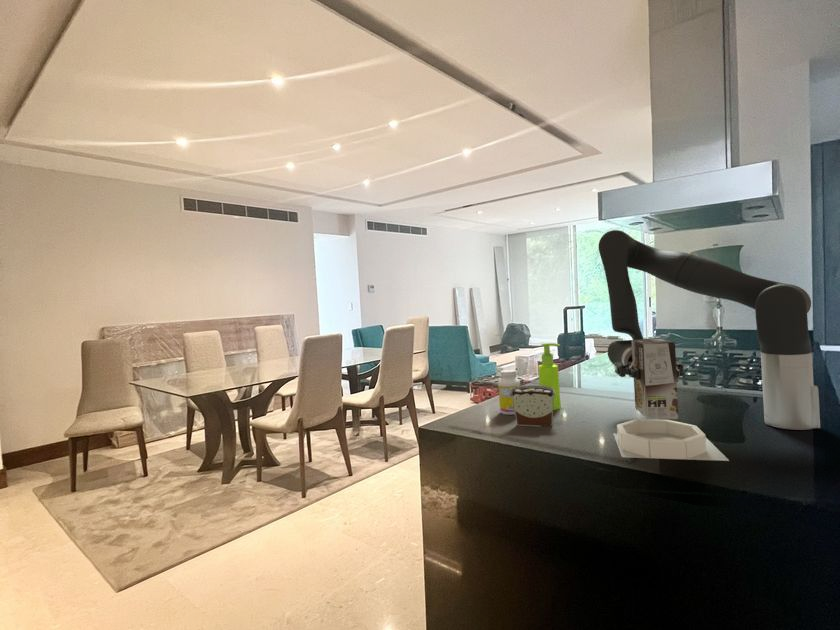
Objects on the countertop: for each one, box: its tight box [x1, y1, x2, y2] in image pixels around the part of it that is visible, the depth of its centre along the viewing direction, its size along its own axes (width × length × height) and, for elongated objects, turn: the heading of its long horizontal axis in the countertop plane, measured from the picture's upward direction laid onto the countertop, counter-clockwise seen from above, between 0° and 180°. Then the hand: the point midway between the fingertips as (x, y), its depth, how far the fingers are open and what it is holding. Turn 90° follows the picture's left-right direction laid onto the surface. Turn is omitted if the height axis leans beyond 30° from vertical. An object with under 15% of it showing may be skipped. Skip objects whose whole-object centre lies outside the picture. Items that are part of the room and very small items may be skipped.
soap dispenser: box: [537, 342, 562, 411], centre depth 134 cm, size 6×7×20 cm
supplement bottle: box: [497, 369, 521, 416], centre depth 133 cm, size 7×7×13 cm
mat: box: [612, 433, 730, 462], centre depth 94 cm, size 19×16×1 cm
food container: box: [510, 384, 556, 428], centre depth 120 cm, size 12×6×10 cm, turn 65°
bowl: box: [616, 418, 707, 460], centre depth 95 cm, size 16×16×4 cm
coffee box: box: [630, 337, 679, 420], centre depth 95 cm, size 9×6×16 cm
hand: (656, 374), depth 92 cm, fingers closed on coffee box, 6 cm apart
